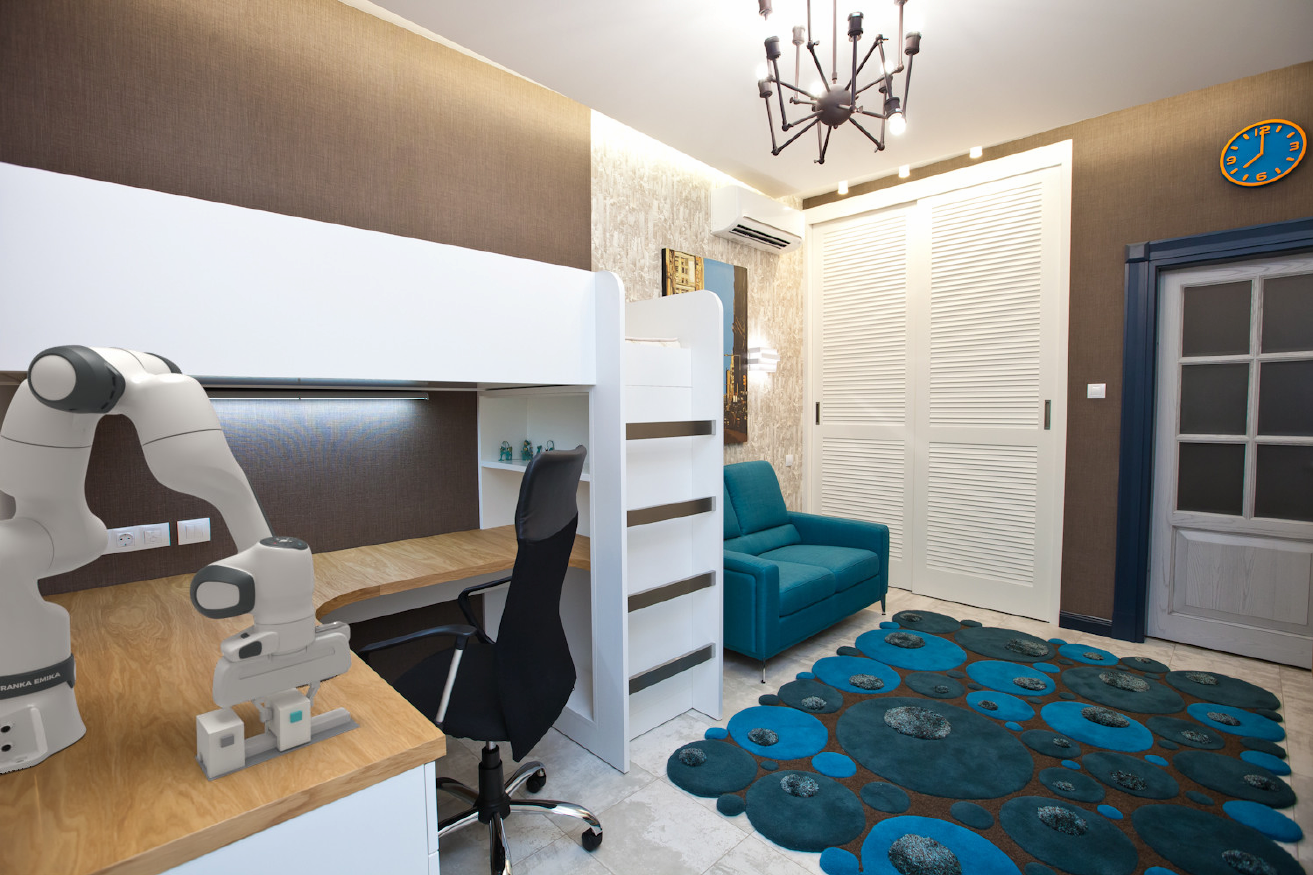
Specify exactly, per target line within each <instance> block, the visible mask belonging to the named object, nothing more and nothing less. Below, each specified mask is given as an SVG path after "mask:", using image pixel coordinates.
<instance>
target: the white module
mask: <svg viewBox="0 0 1313 875" xmlns="http://www.w3.org/2000/svg"><path fill="white" fill-rule="evenodd" d="M305 696H306V695H305V694H303V693H302V692H301V691H300V690H299V689H298V687H295V688H292V689H288V690H285V691H281V692H278V693H274V694H271V695H268V696H264V708H266V707H270V709H272V713H273V714H272V716H273V719H272V720H269V721H266V722H264V733H266V732H269V731H272V732H273V733H274V734H275V735H276V736H277V748H278V749H279V750H280V751H283V750H286V749H289V748H292V747H294V746H297V745H300V744H303V743H306V742H309V741H311V717H312V716H311V707H310V700H309V699H308V698H307V697H305Z"/></svg>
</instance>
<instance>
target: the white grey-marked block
mask: <svg viewBox="0 0 1313 875" xmlns="http://www.w3.org/2000/svg"><path fill="white" fill-rule="evenodd" d="M195 717H196V718H195V720H196V752H197V753H196V754H197V755H196V756H197V758H198V759H199V761H203V757H204V758H205V760H206V762H207V774H208V776H209V778H213V777H215V776H218V775H221V774H224V773H226V772H229V771H232V770H235V769H238V768H240V767H243V766H245V750H244V739H245V723H244V721H243V720H242V719H241V718H240V716H239V714H237V713H236V711H235V710H234V709H233V708H232V706H230V707H227V708H221V707H220V708H218V709H214V710H211V711H208V712H204V713H202V714H198V715H196V716H195Z"/></svg>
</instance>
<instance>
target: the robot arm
mask: <svg viewBox="0 0 1313 875" xmlns="http://www.w3.org/2000/svg"><path fill="white" fill-rule="evenodd" d="M13 395H14V396H13V397H12V399H11V402H9V406H8V408H7V411H6V413H5V416H4V419H3V422H2V426H1V429H0V491H1V492H3V493H4V494H6V495H8V496H11V497H13V498H14V501H15V513H14V515H13V516H12V518H8V519H7V518H6V519H0V773H2V774H5V772H6V773H9V772H8V771H10V772H13V771H12V770H15V771H18V769H19V770H22V768H23V769H26V768H30V766H31V767H33V766H36V765H38V764H39V763H41V762H44V760H46V759H47V758H48V757H50V756H52V755H53V754H55V753H57V752H59V751H61V750H63V749H65V748H67V747H69V746H70V745H73V744H74V743H76V742H77V741H78V740H80V739H82V737H84V735H85V734H86V731H87V728H86V726H85V724H84V721H83V720H82V716H81V713H80V711H79V708H78V703H77V700H76V693H75V689H74V687H75V685H76V681H77V666H76V659H75V655H74V653H72V651H71V650H72V648H71V624H70V623H71V619H70V617H71V616H70V613H69V612H68V610H67V609H66V608H65V607H63V606H62V605H60V604H57V603H54V602H51V601H45V599H44V598H43V596H42V595H41V593H40V590H39V588H38V580H40V579H45V578H48V577H53V576H56V575H60V574H64V573H69V572H72V571H74V570H76V569H77V570H78V568H80V567H83V566H85V565H88V564H90V563H91V562H93V561H95V560H97V559H99V558H101V556H102V555H103V554H104V552H105V551H106V549H107V548H108V544H109V532H108V528H107V526H106V525H105V523H104V522H103V521H102V520H101V518H99V517H97V516H96V515H95V514H94V513H92V511H91V510H90V508H89V506H88V502H87V500H86V494H85V481H86V477H87V476H86V475H87V470H88V465H89V461H90V456H91V451H92V447H93V442H94V439H95V433H96V428H97V427H98V423H99V421H100V420H101V419H102V418H103V417H104V416H106V415H121V414H122V415H124V416H125V417H127V418H128V419H129V420H131V422H132V423H133V425H134V427H135V429H136V431H137V432H136V433H137V435H138V439H139V442H140V445H141V449H142V451H143V455H144V459H145V461H146V463H147V464H146V465H147V466H148V469H149V470H150V472H151V474H152V475H153V477H154V478H155V479H156V480H157V482H159V484H161V485H163V486H165V487H167V488H168V489H170V490H173V491H175V492H179V493H182V494H187V495H190V496H194V497H196V498H199V499H202V500H205V501H207V503H210V504H211V505H213V507H215V508H216V509H217V510H218V511H219V512H220V515H221V516H222V518H223V520H224V522H225V524H226V527H227V528H228V531H229V534H230V535H231V537H232V539H233V541H234V543H235V546H236V549H237V554H234V555H231V556H229V557H226V558H224V559H219V560H217V561H214V562H211V563H210V564H208V565H206V566H204V567H202V568H200V569H199V570H198V571H197V572H196V573H195V574H194V576H193V577H192V579H191V582H190V584H189V598H190V601H191V604H192V605H193V607H194V609H195V610H196V611H197V612H198V613H199V614H201V615H202V616H203V617H205V618H208V619H214V620H222V619H230V618H234V617H239V616H242V615H245V614H247V615H252V616H253V625H251V626H249V627H247V628H245V629H243V630H241V631H239V632H237V633H235V634H233V635H231V636H228V637H227V638H225V639H223V640H222V641H221V642H220V652H221V653H222V657H220V658H219V659H218V661H217V663H216V666H215V669H214V673H213V678H212V679H213V680H212V700H213V702H214V704H215V705H217V706H218V707H220V709H221V708H227V707H233V706H236V705H239V704H243V703H247V702H251V703H252V704H253V705H254V706H255V708H256V709H258V712H259V714H258V716H259V717H258V718H259V722H260V723H261V724H264V723H265V722H266V721H269V720H272V719H273V716H272V714H273V713H272V709H270V707H266V708H265V706H263V705H262V704H265V696H268V695H271V694H274V693H278V692H281V691H285V690H288V689H292V688H298V687H300V686H301V687H302V686H305V685H308V687H309V688H308V689H307V692H306V694H305V695H304V696H305V697H307V698H308V699H309V700H310V708H313V707H314V697H315V696H316V694H317V693H318V691H319V689H320V688H321V681H320V680H322V679H326V678H329V677H332V678H334V677H336V675H337V676H338V675H339V676H340V675H343V674H345V673H348V671H349V670H350V669H351V667H352V663H353V662H352V654H351V648H350V644H349V643H350V642H349V641H350V639H351V627H350V625H349V624H348V623H346V622H342V621H341V620H339V621H338V620H337V621H333V622H331V623H324V624H319V625H316V609H315V608H316V607H315V606H314V603H313V593H314V591H315V571H314V570H315V569H314V568H315V567H314V558H313V554H312V551H311V547H310V545H309V544H308V543H307V542H306V541H305V540H303V539H300V538H297V537H293V536H284V535H283V536H277V535H276V533H275V530H274V528H273V526H272V524H271V521H270V520H269V517H268V514H267V513H266V511H265V508H264V506H263V503H262V501H261V500H260V498H259V495H258V493H257V491H256V489H255V486H254V485H253V483H252V481H251V480H250V477H249V476H248V475H247V473H246V471H245V470H244V469H243V468H242V467H241V466H240V464H239V463H238V461H237V460H236V457H235V456H234V455H233V453H232V451H231V448H230V446H229V444H228V441H227V439H226V436H225V434H224V431H223V427H222V425H221V422H220V420H219V417H218V414H217V412H216V410H215V407H214V406H213V404H212V402H211V399H210V397H209V396H208V395H207V392H206V390H205V389H204V388H203V386H202V385H201V384H200V382H199V381H198V379H196V378H194V377H192V376H189V375H186V374H183V372H182V370H181V369H180V367H179V366H178V365H177V364H176V363H175V362H173V361H172V360H170V359H168V358H167V357H164V356H162V355H159V354H157V353H154V352H147V351H145V352H143V351H138V350H134V349H130V348H129V349H128V348H123V347H114V346H113V347H111V346H110V347H106V346H105V347H103V346H84V345H80V344H71V345H70V344H68V345H67V344H66V345H58V346H53V347H49V348H46V349H44V350H42V351H40V352H39V353H38V354H36V355H35V356H34V357H33V359H32V360H31V361H30V363H29V366H28V369H27V375H26V379H24V380H23V381H22V382H21V383H20V385H19V387H18V388H17V390H16V392H15V393H14V394H13ZM333 676H334V677H333ZM326 680H327V679H326ZM322 681H323V680H322Z"/></svg>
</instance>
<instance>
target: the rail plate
mask: <svg viewBox="0 0 1313 875" xmlns="http://www.w3.org/2000/svg"><path fill="white" fill-rule="evenodd" d="M358 728H361V725H360V724H358V723H357V722H356V721H355V720H354V719H353V718H351V712H350V711H348V710H347V708H345V707H344V706H342V707H341V706H340V707H338V708H335V709H332V710H329V711H326V712H323V713H320V714H317V715H315V716H311V741H309V742H306V743H303V744H300V745H297V746H294V747H292V748H289V749H286V750H283V751H280V750H279V749H278V748H277V736H276V735H275V734H274V733H273V732H272V731H269V732H266V733H265V732H263V733H260V734H256V735H254V736H251V737H249V738H246V739H245V738H244V750H245V766H243V767H240V768H238V769H235V770H232V771H229V772H226V773H224V774H221V775H218V776H215V777H213V778H209V776H208V774H207V762H206V760H205V758H204V757H203V761H199V759H198V758H197V755H195V756H193V757H194V758H195V760H196V762H197V763H198V765H199V767H200V768H201V770H202V773H203V774H204V775H205V777H206V779H207V781H208V782H212V781H214V780H217V779H220V778H222V777H225V776H228V775H231V774H234V773H237V772H239V771H242V770H244V769H248V768H250V767H251V768H252V767H253V766H256V765H258V764H261V763H263V762H266V761H270V760H272V759H275V758H278V757H281V756H284V755H286V754H289V753H292V752H295V751H297V750H300V749H303V748H305V747H309V746H310V745H311V746H312V745H314V744H316V743H320V742H322V741H325V740H327V739H330V738H333V737H336V736H338V735H342V734H344V733H347V732H350V731H352V730H355V729H358Z"/></svg>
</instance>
